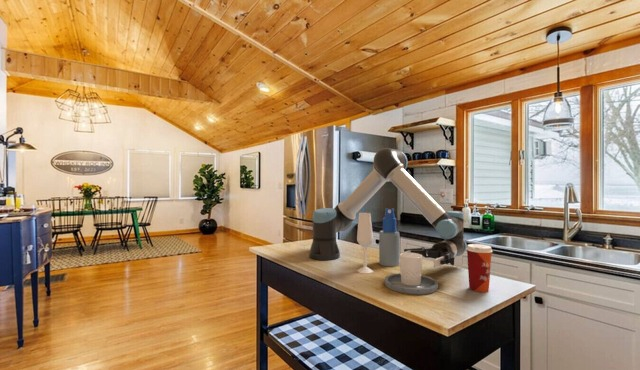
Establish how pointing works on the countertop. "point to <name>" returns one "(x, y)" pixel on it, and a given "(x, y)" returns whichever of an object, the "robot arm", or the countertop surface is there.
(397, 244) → the spray bottle
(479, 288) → the coffee cup
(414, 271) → the white cup
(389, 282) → the plate
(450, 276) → the countertop surface
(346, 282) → the countertop surface
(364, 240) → the champagne flute
